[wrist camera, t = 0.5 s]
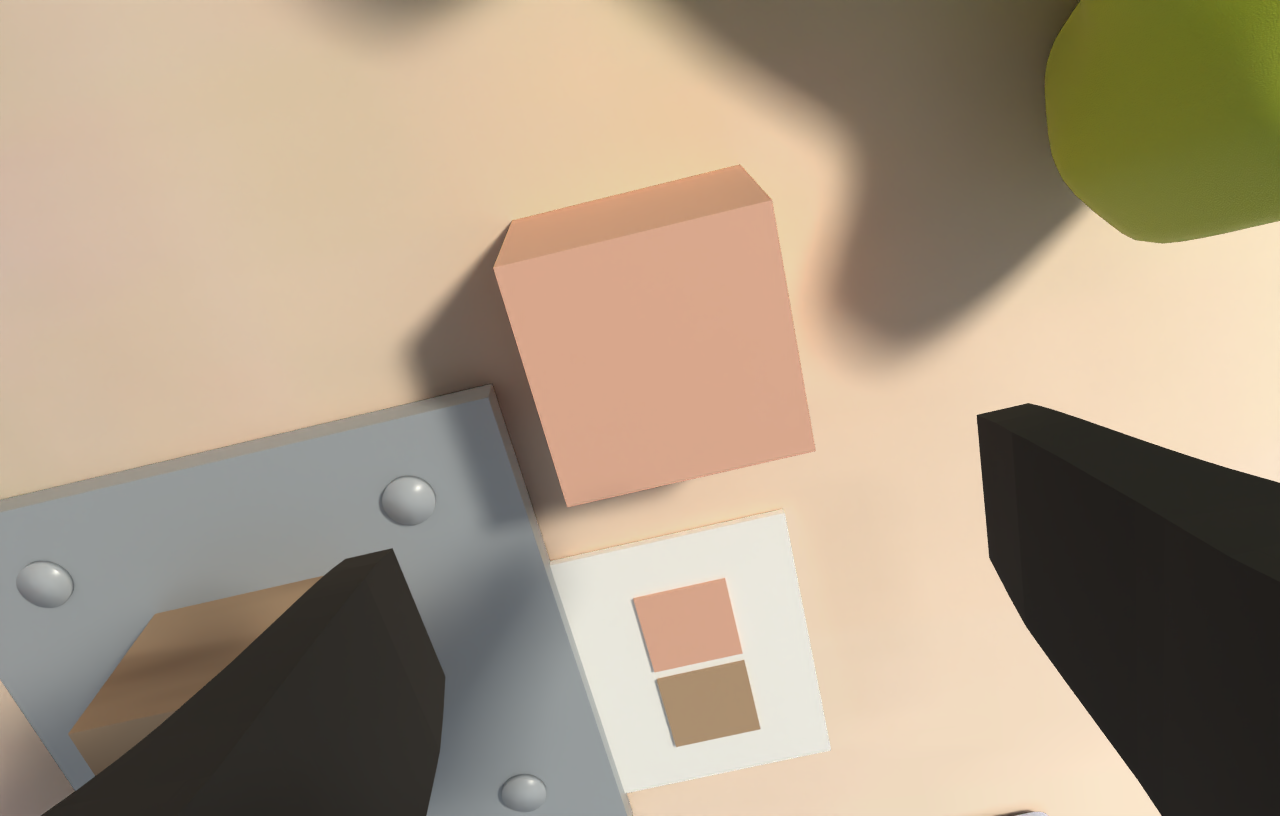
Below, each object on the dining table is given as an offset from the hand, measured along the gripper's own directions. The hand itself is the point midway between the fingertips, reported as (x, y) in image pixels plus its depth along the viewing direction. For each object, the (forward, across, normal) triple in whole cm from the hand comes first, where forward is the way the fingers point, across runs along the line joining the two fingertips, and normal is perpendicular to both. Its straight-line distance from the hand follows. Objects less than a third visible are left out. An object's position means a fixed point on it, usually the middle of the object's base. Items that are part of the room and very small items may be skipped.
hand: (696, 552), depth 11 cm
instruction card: (+10, +1, +10) cm, 14 cm away
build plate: (+10, +11, +8) cm, 17 cm away
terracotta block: (+10, 0, 0) cm, 10 cm away
